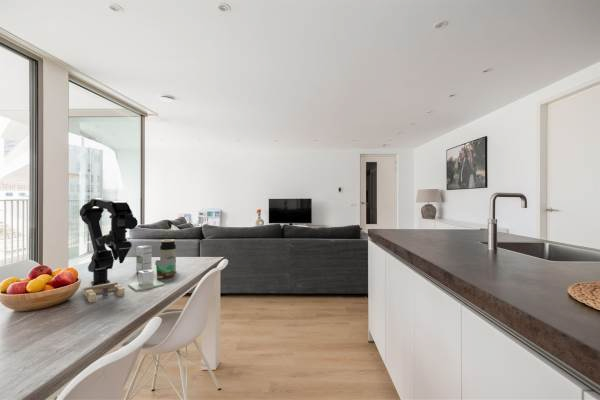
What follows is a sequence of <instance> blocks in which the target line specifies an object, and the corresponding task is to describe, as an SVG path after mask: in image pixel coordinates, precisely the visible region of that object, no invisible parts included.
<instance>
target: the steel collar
mask: <svg viewBox="0 0 600 400" xmlns="http://www.w3.org/2000/svg"><path fill="white" fill-rule="evenodd" d="M154 275H155V272H154V270H153V269H152V270H150V269H149V270H143V271H139V272H138V279H137V282H138V284H140V285H141V286H145V285H150V284H154V279H155V278H154V277H155V276H154Z"/></svg>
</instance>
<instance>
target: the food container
mask: <svg viewBox="0 0 600 400" xmlns="http://www.w3.org/2000/svg"><path fill="white" fill-rule="evenodd" d="M176 259H177V257H176V258H175V257H174V256H170V258H168V259H163V260H158V259H157V260H155V264H154V265H155V270H156V280H167V279H171V278H173V277H174V273H175V272H174V264H175V262H176V263H177V260H176Z"/></svg>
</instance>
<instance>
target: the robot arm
mask: <svg viewBox="0 0 600 400" xmlns="http://www.w3.org/2000/svg"><path fill="white" fill-rule="evenodd" d="M104 210H107V211H106V212H108V213H109V214H110V215H109V217H108V218H109V219H110V230H109V232H108V233H107V234H104V235H103V233H102V228H101V224H100V221H101V219H102V216H103V215H102V214H103V212H104ZM79 216H80V218H81V221H82V222H83V223H84V224H86V225H87V228H88V233H89V236H90V240H91V246H92V250H93V254H92V255H91V261H90V263H89V264H88V266H87V270H88V272H89V273H92V275H93V276H92V277H93V278H92V281H90V283H91V284H92V285H93V286H97V285H102V284H108V283H111V282H110V280H109V279H108V270H112V269H113V266H114V263H115V261H118V262H119V264H123V263H124V261H125V259H126V258H127V255H128V254H129V252H130V250H131V248H132V247H133V246H132V245H133V244H132V242H131V241H129V240H128V239H127V237H126V236H127V234H126V233H128V230H134V229H135V228H137V226H138V223H139V222H138V219H137V218H136V217H135V216H134V214H133V211H132V209H131V208H130V205H129V203H128V202H127V201H126V200H125V201H123V200H120V201H119V200H117V201H116V200H115V201H114V200H113V201H112V200H109V199H105V198H100V197H99V198H98V197H97V198H96V197H93V198H91V199H90V200H89V201H88V202H86V203H85V204H83V205H82V206H81V208H80V209H79ZM106 246H107V248H109V249H107V248H106Z"/></svg>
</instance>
